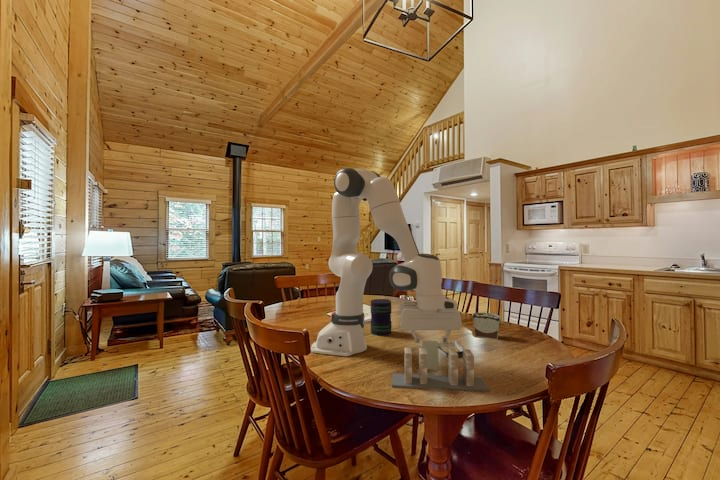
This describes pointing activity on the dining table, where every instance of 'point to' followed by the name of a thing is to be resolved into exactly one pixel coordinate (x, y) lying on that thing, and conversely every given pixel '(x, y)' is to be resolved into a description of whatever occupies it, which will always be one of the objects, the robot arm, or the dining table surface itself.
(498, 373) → the dining table surface
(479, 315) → the food container
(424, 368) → the domino
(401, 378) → the domino mat
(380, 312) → the storage jar
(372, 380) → the dining table surface
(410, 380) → the domino
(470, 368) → the domino
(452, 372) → the domino
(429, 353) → the sage domino
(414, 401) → the dining table surface
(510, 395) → the dining table surface
